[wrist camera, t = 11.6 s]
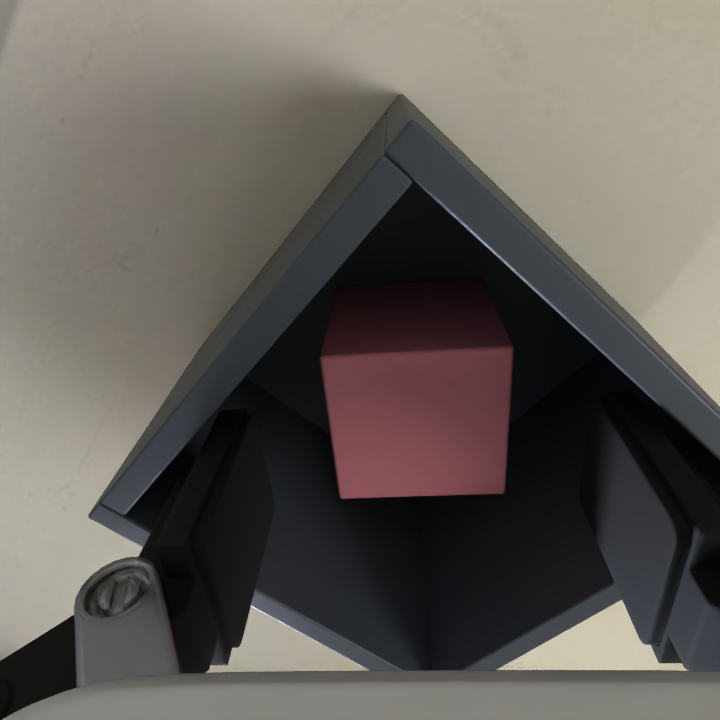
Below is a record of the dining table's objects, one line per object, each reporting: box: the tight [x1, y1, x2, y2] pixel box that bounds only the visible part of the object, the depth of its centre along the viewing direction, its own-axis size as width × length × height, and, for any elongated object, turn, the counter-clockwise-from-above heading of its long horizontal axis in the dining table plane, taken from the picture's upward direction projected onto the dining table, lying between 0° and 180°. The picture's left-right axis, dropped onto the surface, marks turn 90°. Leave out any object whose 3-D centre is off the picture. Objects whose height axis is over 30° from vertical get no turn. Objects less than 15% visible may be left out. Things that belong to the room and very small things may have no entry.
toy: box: [320, 278, 514, 499], centre depth 15 cm, size 4×4×4 cm
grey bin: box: [88, 94, 720, 671], centre depth 14 cm, size 10×10×8 cm
